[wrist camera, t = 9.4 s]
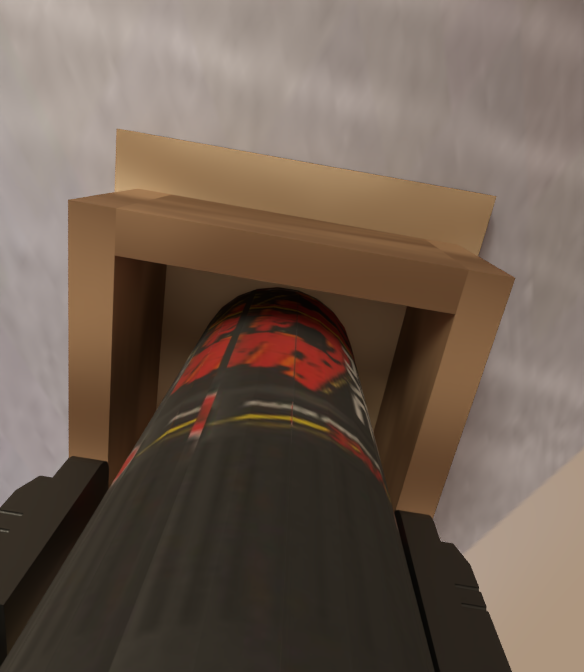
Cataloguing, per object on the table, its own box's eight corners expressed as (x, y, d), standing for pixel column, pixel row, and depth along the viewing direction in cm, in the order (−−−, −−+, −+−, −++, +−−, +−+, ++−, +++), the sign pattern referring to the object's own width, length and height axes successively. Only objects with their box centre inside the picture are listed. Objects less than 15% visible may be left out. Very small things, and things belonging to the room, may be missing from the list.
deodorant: (383, 364, 18) (644, 1023, 4) (273, 452, 20) (197, 1156, 6) (278, 253, 17) (152, 681, 3) (169, 356, 18) (-268, 970, 4)
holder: (127, 130, 17) (34, 115, 11) (486, 194, 17) (572, 211, 11) (114, 476, 22) (46, 585, 16) (388, 521, 22) (413, 642, 17)
